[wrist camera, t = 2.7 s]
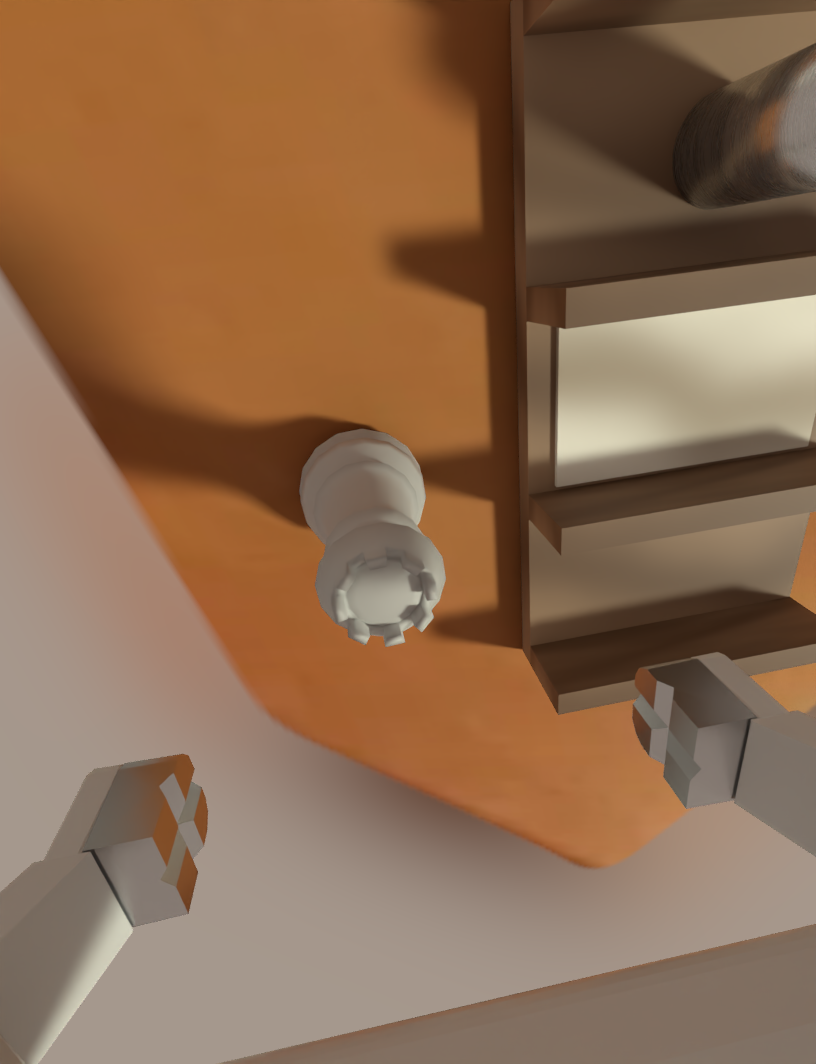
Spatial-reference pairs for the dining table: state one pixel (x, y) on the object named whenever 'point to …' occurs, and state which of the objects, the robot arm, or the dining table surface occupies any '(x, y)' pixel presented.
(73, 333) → the dining table surface
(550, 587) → the rack
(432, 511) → the dining table surface
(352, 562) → the rook chess piece
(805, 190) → the metal peg
